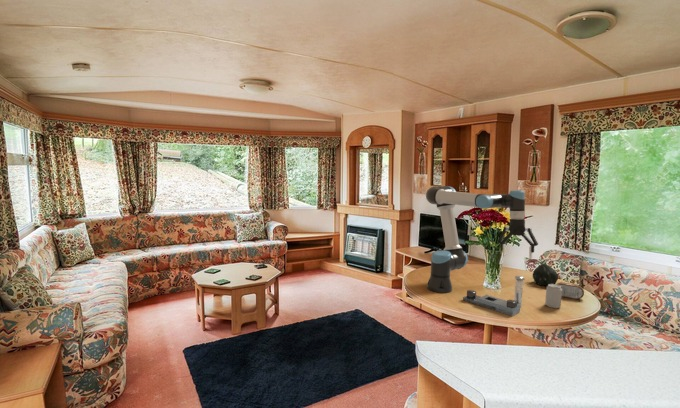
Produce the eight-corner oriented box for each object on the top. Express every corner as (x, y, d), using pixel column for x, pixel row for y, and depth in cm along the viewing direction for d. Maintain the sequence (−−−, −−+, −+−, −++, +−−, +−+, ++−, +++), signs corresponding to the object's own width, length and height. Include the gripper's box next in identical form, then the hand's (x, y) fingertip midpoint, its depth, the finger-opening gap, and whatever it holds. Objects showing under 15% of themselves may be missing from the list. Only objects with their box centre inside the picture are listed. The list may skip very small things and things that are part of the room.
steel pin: (511, 306, 203) (513, 276, 202) (515, 304, 206) (517, 275, 205) (519, 309, 200) (522, 278, 198) (523, 307, 203) (525, 277, 201)
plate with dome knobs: (463, 300, 211) (463, 290, 210) (471, 297, 217) (471, 287, 216) (512, 316, 190) (513, 305, 189) (519, 312, 196) (520, 301, 195)
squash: (560, 275, 247) (544, 257, 249) (564, 282, 233) (548, 263, 235) (541, 286, 252) (526, 269, 254) (544, 294, 238) (528, 275, 240)
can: (552, 309, 201) (554, 288, 200) (541, 304, 208) (543, 283, 207) (563, 308, 203) (565, 287, 202) (552, 303, 210) (554, 282, 209)
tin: (583, 299, 218) (584, 285, 217) (583, 300, 215) (585, 286, 214) (554, 294, 225) (555, 280, 225) (553, 295, 223) (555, 282, 222)
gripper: (491, 218, 207) (491, 255, 208) (540, 220, 191) (540, 260, 192) (496, 217, 213) (496, 253, 214) (544, 218, 196) (544, 258, 197)
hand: (517, 257), depth 203 cm, fingers open, 13 cm apart
